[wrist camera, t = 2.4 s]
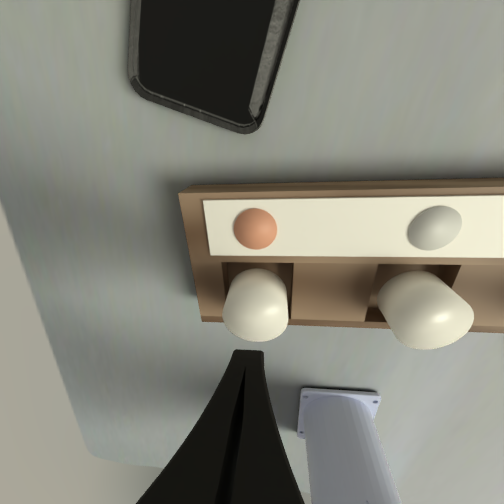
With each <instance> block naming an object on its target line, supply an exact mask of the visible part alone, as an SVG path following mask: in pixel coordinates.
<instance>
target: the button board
mask: <svg viewBox="0 0 504 504" xmlns="http://www.w3.org/2000/svg"><path fill="white" fill-rule="evenodd" d="M454 195H504V178H467V179H425V180H383V181H341V182H299V183H257V184H216V185H191V186H190V187H188V188H186V189H185V190H183V191H181V192H180V193H178V196H179V201H180V206H181V212H182V217H183V222H184V228H185V233H186V239H187V244H188V249H189V255H190V260H191V266H192V271H193V276H194V282H195V287H196V292H197V298H198V303H199V309H200V314H201V319H202V322H224V321H223V317H222V313H223V308H224V305H225V302H226V298H227V295H228V292H229V288H230V285H231V282H232V280H233V279H234V278H235V277H236V276H237V275H238V274H239V273H241V272H243V271H245V270H248V269H255V268H258V269H265V270H268V271H271V272H273V273H275V274H276V275H277V276H279V277H280V278H281V279H282V281H283V282H284V284H285V286H286V290H287V305H288V324H287V325H304V326H330V327H356V328H382V329H391V328H390V326H389V324H388V323H387V321H386V319H385V318H384V316H383V314H382V312H381V311H380V309H379V307H378V304H377V296H378V293H379V291H380V289H381V288H382V286H383V285H384V284H385V283H386V282H387V281H389V280H390V279H391V278H393V277H395V276H397V275H399V274H402V273H405V272H409V271H426V272H429V273H432V274H434V275H436V276H437V277H438V278H439V279H441V280H442V281H443V282H444V283H445V284H446V285H447V286H449V287H450V288H451V289H452V290H453V291H454V292H455V293H456V294H458V295H459V296H460V297H461V298H462V299H463V300H464V301H466V302H467V303H468V304H469V305H470V306H471V308H472V310H473V313H474V320H473V324H472V326H471V328H470V329H469V330H468V332H487V333H504V258H462V257H341V256H220V255H210V248H209V241H208V233H207V226H206V219H205V212H204V205H203V200H220V199H278V198H337V197H396V196H454Z"/></svg>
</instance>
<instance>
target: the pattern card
mask: <svg viewBox="0 0 504 504" xmlns="http://www.w3.org/2000/svg"><path fill="white" fill-rule="evenodd" d="M203 205H204V212H205V219H206V226H207V233H208V241H209V248H210V255H220V256H341V257H462V258H504V195H454V196H396V197H337V198H278V199H220V200H203Z"/></svg>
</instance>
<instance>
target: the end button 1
mask: <svg viewBox="0 0 504 504" xmlns="http://www.w3.org/2000/svg"><path fill="white" fill-rule="evenodd" d="M222 317H223V321H224V324H225V325H226V327H227V328H228V329H229V330H230V332H232V333H233V334H234V335H236V336H237V337H239V338H242V339H244V340H248V341H254V342H262V341H268V340H271V339H274V338H276V337H278V336H279V335H280V334H281V333H282V332H283V331H284V330H285V329H286V327H287V324H288V305H287V290H286V286H285V284H284V282H283V281H282V279H281V278H280V277H279V276H277V275H276V274H275V273H273V272H271V271H268V270H265V269H258V268H255V269H248V270H245V271H243V272H241V273H239V274H238V275H237V276H236V277H235V278H234V279H233V280H232V282H231V285H230V288H229V292H228V295H227V298H226V302H225V305H224V308H223V313H222Z"/></svg>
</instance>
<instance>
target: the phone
mask: <svg viewBox="0 0 504 504" xmlns="http://www.w3.org/2000/svg"><path fill="white" fill-rule="evenodd" d="M299 2H300V0H131V13H130V34H129V54H128V76H129V79H130V82H131V85H132V86H133V88H134V90H135V91H136V92H137V93H138V94H139V95H140V96H141V97H143V98H145V99H146V100H149V101H152V102H154V103H157V104H160V105H163V106H165V107H168V108H171V109H173V110H176V111H179V112H182V113H184V114H187V115H190V116H193V117H195V118H198V119H201V120H204V121H206V122H209V123H212V124H215V125H217V126H220V127H223V128H226V129H228V130H231V131H234V132H237V133H240V134H250V133H253V132H255V131H256V130H258V129H259V127H260V126H261V125H262V123H263V121H264V118H265V115H266V112H267V108H268V105H269V102H270V98H271V95H272V92H273V89H274V85H275V82H276V79H277V75H278V72H279V69H280V65H281V62H282V59H283V55H284V52H285V49H286V45H287V42H288V39H289V35H290V32H291V29H292V25H293V22H294V19H295V16H296V12H297V9H298V6H299Z"/></svg>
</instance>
